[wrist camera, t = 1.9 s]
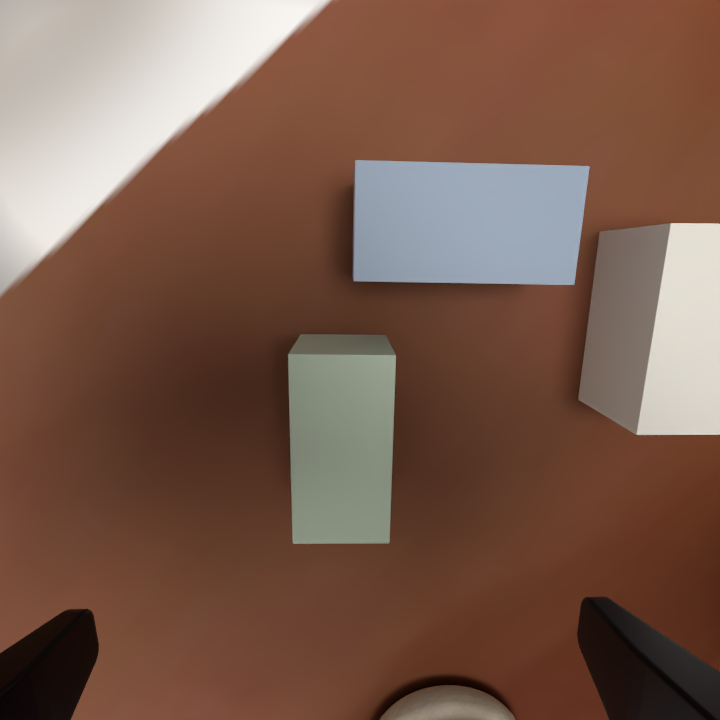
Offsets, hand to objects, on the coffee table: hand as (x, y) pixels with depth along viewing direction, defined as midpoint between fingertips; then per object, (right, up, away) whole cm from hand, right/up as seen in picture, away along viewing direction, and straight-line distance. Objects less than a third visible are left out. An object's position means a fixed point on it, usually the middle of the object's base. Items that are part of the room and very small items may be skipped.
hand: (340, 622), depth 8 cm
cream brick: (+12, +7, +10) cm, 17 cm away
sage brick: (0, +2, +11) cm, 11 cm away
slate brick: (+4, +10, +9) cm, 14 cm away
